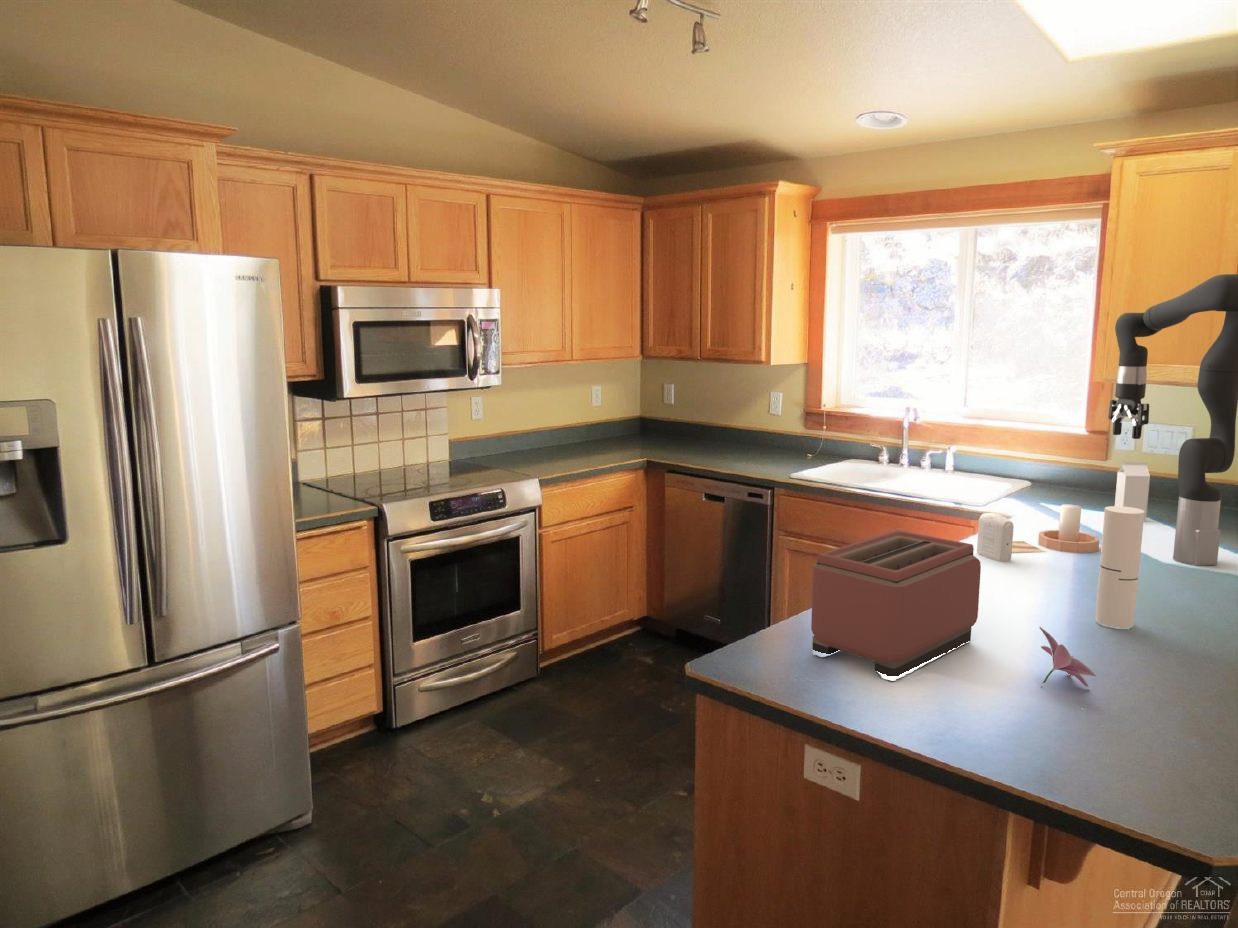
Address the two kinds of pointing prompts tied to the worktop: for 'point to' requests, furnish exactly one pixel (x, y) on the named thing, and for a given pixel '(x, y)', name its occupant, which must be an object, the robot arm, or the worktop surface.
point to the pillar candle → (1069, 523)
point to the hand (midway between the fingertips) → (1126, 436)
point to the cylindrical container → (1119, 566)
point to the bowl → (1068, 542)
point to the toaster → (895, 599)
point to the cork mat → (1024, 547)
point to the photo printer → (995, 537)
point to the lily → (1065, 660)
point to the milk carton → (1133, 486)
